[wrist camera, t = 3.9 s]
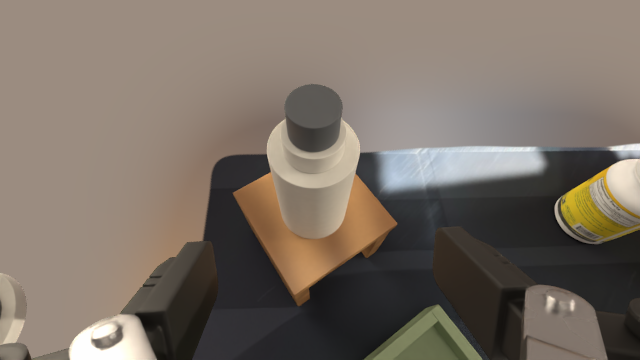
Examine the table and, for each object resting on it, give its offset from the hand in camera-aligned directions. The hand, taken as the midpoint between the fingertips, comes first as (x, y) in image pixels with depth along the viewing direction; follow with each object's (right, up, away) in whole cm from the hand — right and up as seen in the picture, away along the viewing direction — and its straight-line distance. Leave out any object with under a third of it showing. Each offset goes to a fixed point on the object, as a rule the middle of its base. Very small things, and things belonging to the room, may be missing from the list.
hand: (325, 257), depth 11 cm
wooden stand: (-1, -4, +23) cm, 23 cm away
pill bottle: (+30, -2, +25) cm, 39 cm away
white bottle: (-1, 0, +15) cm, 15 cm away
